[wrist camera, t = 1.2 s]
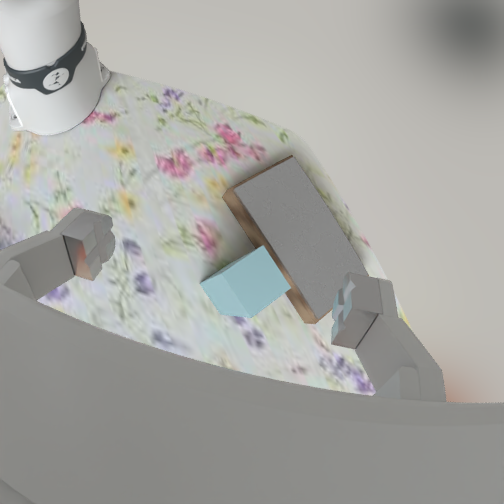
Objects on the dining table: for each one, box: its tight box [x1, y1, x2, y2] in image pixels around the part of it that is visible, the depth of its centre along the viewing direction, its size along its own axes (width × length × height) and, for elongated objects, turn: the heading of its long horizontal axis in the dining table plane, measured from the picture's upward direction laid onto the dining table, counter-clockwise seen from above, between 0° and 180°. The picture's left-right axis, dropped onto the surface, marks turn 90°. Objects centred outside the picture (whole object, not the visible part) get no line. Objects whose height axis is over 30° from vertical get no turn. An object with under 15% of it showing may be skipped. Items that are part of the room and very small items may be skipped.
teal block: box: [200, 245, 291, 318], centre depth 37 cm, size 5×5×14 cm
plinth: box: [222, 155, 369, 324], centre depth 46 cm, size 22×12×4 cm, turn 35°
